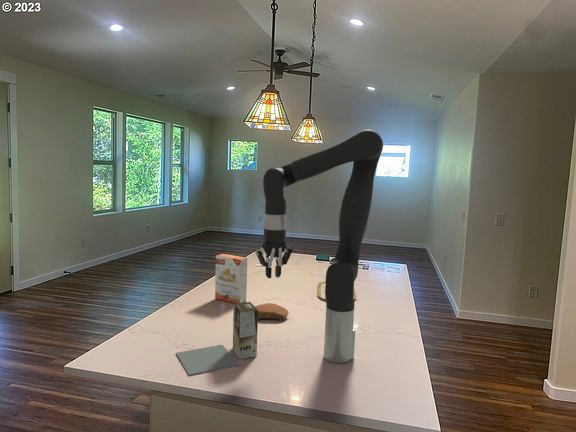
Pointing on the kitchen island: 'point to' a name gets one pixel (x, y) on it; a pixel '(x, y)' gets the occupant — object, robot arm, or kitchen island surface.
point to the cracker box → (231, 278)
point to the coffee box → (245, 330)
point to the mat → (206, 359)
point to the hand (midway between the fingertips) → (273, 277)
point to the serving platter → (320, 290)
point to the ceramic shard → (271, 311)
